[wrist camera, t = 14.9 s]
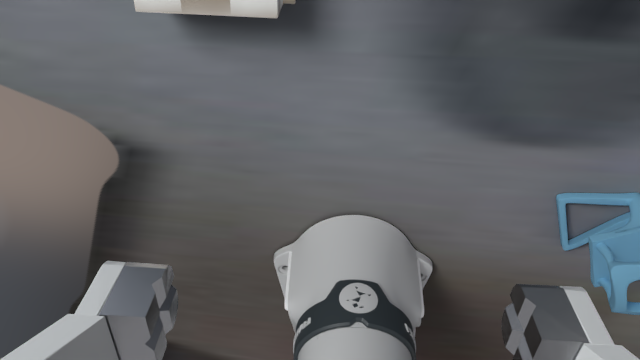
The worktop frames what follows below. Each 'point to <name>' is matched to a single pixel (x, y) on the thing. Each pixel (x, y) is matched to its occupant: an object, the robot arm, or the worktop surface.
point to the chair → (609, 245)
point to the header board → (215, 7)
